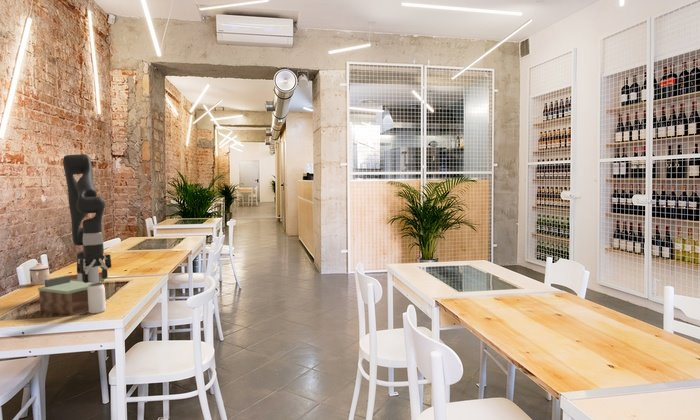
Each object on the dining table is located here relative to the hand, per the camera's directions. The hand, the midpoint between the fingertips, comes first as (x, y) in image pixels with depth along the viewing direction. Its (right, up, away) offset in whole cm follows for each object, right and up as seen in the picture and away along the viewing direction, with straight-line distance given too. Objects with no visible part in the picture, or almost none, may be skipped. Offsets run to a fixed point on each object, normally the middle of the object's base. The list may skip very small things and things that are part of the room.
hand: (95, 280), depth 191 cm
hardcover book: (-43, -11, +64) cm, 78 cm away
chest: (-15, -14, +7) cm, 21 cm away
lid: (-15, -4, +6) cm, 17 cm away
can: (0, -14, +1) cm, 14 cm away
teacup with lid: (-66, -12, +59) cm, 89 cm away
